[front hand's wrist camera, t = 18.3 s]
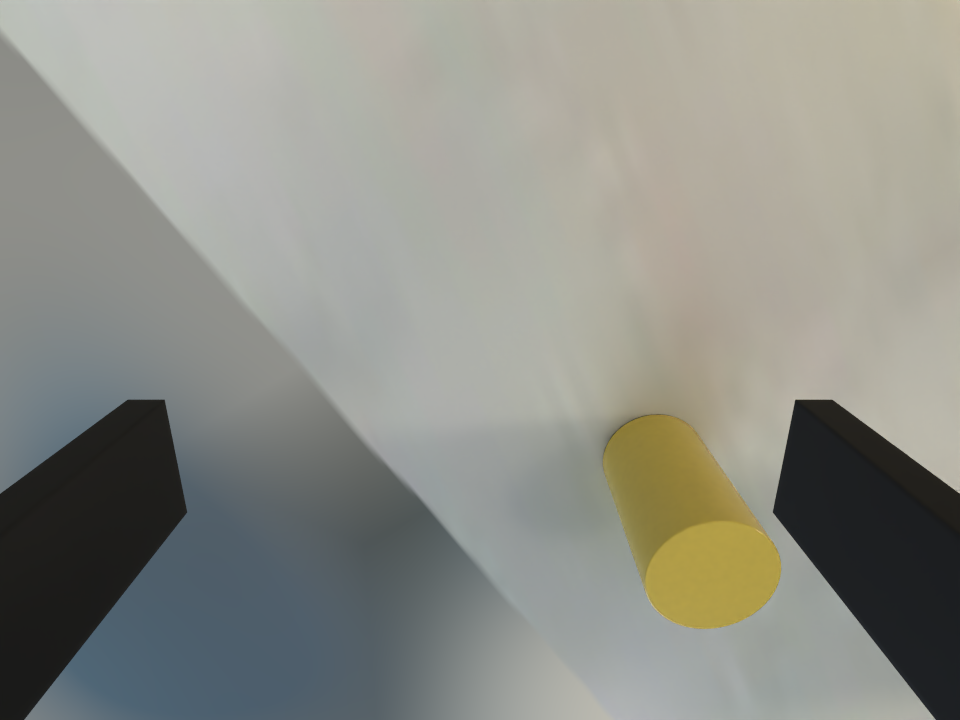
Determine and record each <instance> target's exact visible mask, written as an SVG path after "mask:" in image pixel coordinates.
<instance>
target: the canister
mask: <svg viewBox="0 0 960 720" xmlns="http://www.w3.org/2000/svg"><path fill="white" fill-rule="evenodd" d="M603 468H604V473H605V476H606V479H607V482H608V485H609V488H610V490H611V493H612V496H613V499H614V502H615V505H616V508H617V511H618V514H619V517H620V519H621V522H622V525H623V528H624V531H625V534H626V537H627V540H628V543H629V546H630V548H631V551H632V554H633V557H634V560H635V563H636V566H637V569H638V572H639V575H640V577H641V580H642V583H643V586H644V589H645V592H646V595H647V597H648V599H649V601H650V603H651V604H652V606H653V607H654V608H655V610H656V611H657V612H658V613H659V614H661V615H662V616H663V617H665V618H666V619H668V620H670V621H671V622H673V623H676V624H678V625H681V626H685V627H690V628H697V629H712V628H719V627H724V626H728V625H731V624H734V623H737V622H739V621H741V620H744V619H746V618H747V617H749V616H751V615H752V614H754V613H755V612H756V611H758V610H759V609H760V608H761V607H762V606H763V605H765V603H766V602H767V601H768V600H769V599H770V598H771V596H772V595H773V593H774V591H775V589H776V587H777V585H778V582H779V579H780V574H781V561H780V556H779V553H778V551H777V549H776V547H775V545H774V543H773V542H772V541H771V539H770V538H769V536H768V535H767V533H766V532H765V530H764V529H763V528H762V526H761V525H760V523H759V522H758V520H757V519H756V517H755V516H754V515H753V513H752V512H751V510H750V509H749V507H748V506H747V505H746V503H745V502H744V500H743V499H742V497H741V496H740V494H739V493H738V492H737V490H736V489H735V487H734V486H733V484H732V483H731V481H730V480H729V479H728V477H727V476H726V474H725V473H724V471H723V470H722V468H721V467H720V466H719V464H718V463H717V461H716V460H715V458H714V457H713V456H712V454H711V453H710V451H709V450H708V448H707V447H706V445H705V444H704V443H703V441H702V440H701V438H700V437H699V435H698V434H697V433H696V431H695V430H694V429H693V428H692V427H691V426H690V425H689V424H687V423H686V422H684V421H682V420H680V419H678V418H675V417H672V416H667V415H648V416H643V417H640V418H637V419H635V420H632V421H630V422H629V423H627V424H625V425H624V426H622V427H621V428H620V429H619V430H618V431H617V432H616V433H615V434H614V435H613V436H612V438H611V439H610V441H609V442H608V444H607V446H606V449H605V452H604V457H603Z"/></svg>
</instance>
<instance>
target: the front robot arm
mask: <svg viewBox="0 0 960 720" xmlns="http://www.w3.org/2000/svg"><path fill="white" fill-rule="evenodd" d="M186 513H187V509H186V504H185V500H184V495H183V489H182V485H181V479H180V475H179V470H178V464H177V460H176V454H175V450H174V444H173V439H172V435H171V429H170V425H169V420H168V415H167V410H166V405H165V400H127V401H125V402H124V403H123V404H121V405H120V406H119V407H117V408H116V409H115V410H113V411H112V412H111V413H109V414H108V415H106V416H105V417H104V418H102V419H101V420H100V421H98V422H97V423H96V424H94V425H93V426H92V427H90V428H89V429H87V430H86V431H85V432H83V433H82V434H81V435H79V436H78V437H77V438H75V439H74V440H73V441H71V442H70V443H69V444H67V445H66V446H65V447H63V448H62V449H60V450H59V451H58V452H56V453H55V454H54V455H52V456H51V457H50V458H48V459H47V460H45V461H44V462H43V463H41V464H40V465H39V466H37V467H36V468H35V469H33V470H32V471H31V472H29V473H28V474H27V475H25V476H24V477H22V478H21V479H20V480H18V481H17V482H16V483H14V484H13V485H12V486H10V487H9V488H8V489H6V490H5V491H3V492H2V493H1V494H0V720H24V719H25V718H26V717H27V715H28V714H29V713H30V712H31V710H32V709H33V708H34V707H35V705H36V704H37V703H38V701H39V700H40V699H41V698H42V696H43V695H44V694H45V692H46V691H47V690H48V689H49V687H50V686H51V685H52V684H53V682H54V681H55V680H56V678H57V677H58V676H59V675H60V673H61V672H62V671H63V670H64V668H65V667H66V666H67V665H68V663H69V662H70V661H71V659H72V658H73V657H74V656H75V654H76V653H77V652H78V651H79V649H80V648H81V647H82V645H83V644H84V643H85V642H86V640H87V639H88V638H89V637H90V635H91V634H92V633H93V631H94V630H95V629H96V628H97V626H98V625H99V624H100V623H101V621H102V620H103V619H104V617H105V616H106V615H107V614H108V612H109V611H110V610H111V609H112V607H113V606H114V605H115V603H116V602H117V601H118V600H119V598H120V597H121V596H122V595H123V593H124V592H125V591H126V589H127V588H128V587H129V586H130V584H131V583H132V582H133V580H134V579H135V578H136V577H137V575H138V574H139V573H140V572H141V570H142V569H143V568H144V567H145V565H146V564H147V563H148V561H149V560H150V559H151V558H152V556H153V555H154V554H155V553H156V551H157V550H158V549H159V547H160V546H161V545H162V544H163V542H164V541H165V540H166V539H167V537H168V536H169V535H170V533H171V532H172V531H173V530H174V528H175V527H176V526H177V525H178V523H179V522H180V521H181V519H182V518H183V517H184V516H185V514H186ZM773 513H774V514H775V516H776V517H777V518H778V519H779V521H780V522H781V523H782V525H783V526H784V527H785V528H786V530H787V531H788V532H789V533H790V535H791V536H792V537H793V539H794V540H795V541H796V542H797V544H798V545H799V546H800V547H801V549H802V550H803V551H804V553H805V554H806V555H807V556H808V558H809V559H810V560H811V561H812V563H813V564H814V565H815V567H816V568H817V569H818V570H819V572H820V573H821V574H822V575H823V577H824V578H825V579H826V581H827V582H828V583H829V584H830V586H831V587H832V588H833V589H834V591H835V592H836V593H837V595H838V596H839V597H840V598H841V600H842V601H843V602H844V603H845V605H846V606H847V607H848V609H849V610H850V611H851V612H852V614H853V615H854V616H855V617H856V619H857V620H858V621H859V623H860V624H861V625H862V626H863V628H864V629H865V630H866V631H867V633H868V634H869V635H870V637H871V638H872V639H873V640H874V642H875V643H876V644H877V645H878V647H879V648H880V649H881V651H882V652H883V653H884V654H885V656H886V657H887V658H888V659H889V661H890V662H891V663H892V665H893V666H894V667H895V668H896V670H897V671H898V672H899V673H900V675H901V676H902V677H903V679H904V680H905V681H906V682H907V684H908V685H909V686H910V687H911V689H912V690H913V691H914V693H915V694H916V695H917V696H918V698H919V699H920V700H921V701H922V703H923V704H924V705H925V707H926V708H927V709H928V710H929V712H930V713H931V714H932V715H933V717H934V718H935V719H936V720H960V494H959V493H958V492H957V491H955V490H954V489H952V488H951V487H950V486H948V485H947V484H946V483H944V482H943V481H942V480H940V479H939V478H938V477H936V476H935V475H933V474H932V473H931V472H929V471H928V470H927V469H925V468H924V467H923V466H921V465H920V464H919V463H917V462H916V461H915V460H913V459H912V458H910V457H909V456H908V455H906V454H905V453H904V452H902V451H901V450H900V449H898V448H897V447H896V446H894V445H893V444H891V443H890V442H889V441H887V440H886V439H885V438H883V437H882V436H881V435H879V434H878V433H877V432H875V431H874V430H873V429H871V428H870V427H868V426H867V425H866V424H864V423H863V422H862V421H860V420H859V419H858V418H856V417H855V416H854V415H852V414H851V413H849V412H848V411H847V410H845V409H844V408H843V407H841V406H840V405H839V404H837V403H836V402H835V401H833V400H795V405H794V410H793V415H792V419H791V424H790V429H789V434H788V439H787V444H786V449H785V454H784V459H783V464H782V469H781V474H780V479H779V484H778V489H777V494H776V499H775V504H774V509H773Z"/></svg>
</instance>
